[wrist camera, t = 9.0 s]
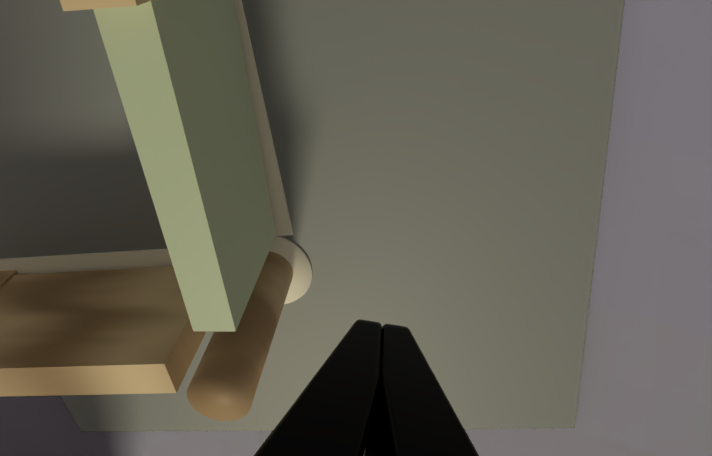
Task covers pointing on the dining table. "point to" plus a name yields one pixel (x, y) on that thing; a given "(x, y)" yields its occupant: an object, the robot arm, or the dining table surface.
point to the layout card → (351, 188)
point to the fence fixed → (132, 337)
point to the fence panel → (194, 144)
